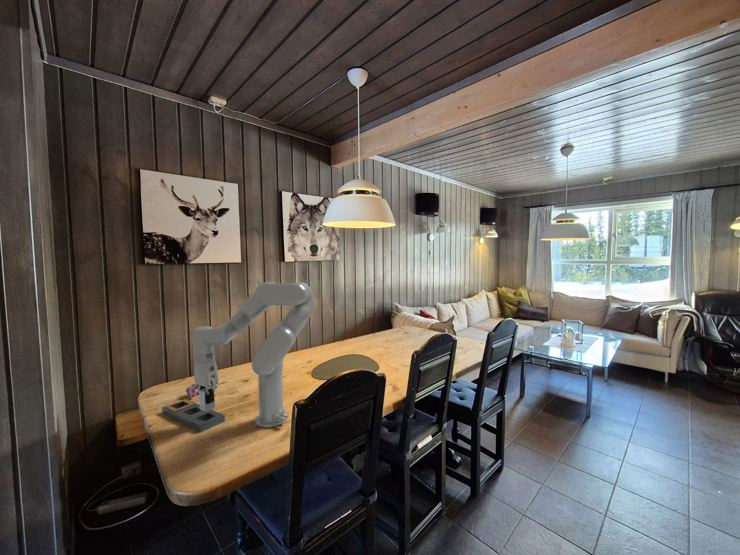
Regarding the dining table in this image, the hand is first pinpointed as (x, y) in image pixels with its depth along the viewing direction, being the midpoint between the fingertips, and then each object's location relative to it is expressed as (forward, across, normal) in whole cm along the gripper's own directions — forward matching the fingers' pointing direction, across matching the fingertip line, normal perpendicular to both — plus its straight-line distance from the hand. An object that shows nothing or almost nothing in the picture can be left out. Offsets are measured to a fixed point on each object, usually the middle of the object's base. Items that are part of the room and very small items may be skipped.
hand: (206, 401), depth 125 cm
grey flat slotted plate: (+9, +11, 0) cm, 14 cm away
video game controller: (+9, +31, -13) cm, 34 cm away
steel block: (+3, 0, 0) cm, 3 cm away
